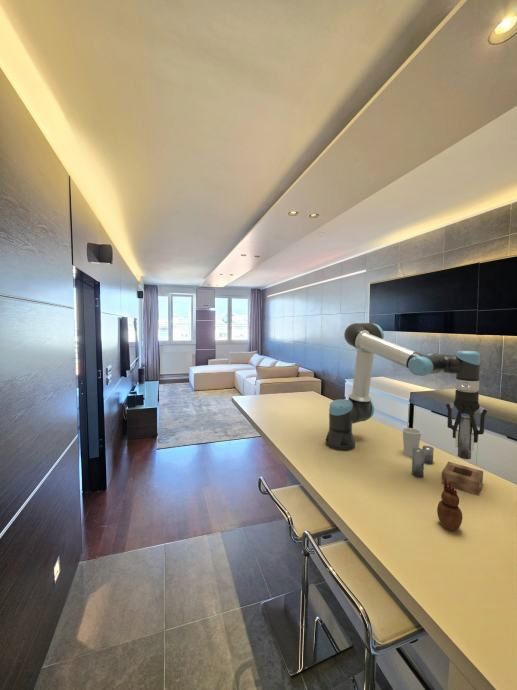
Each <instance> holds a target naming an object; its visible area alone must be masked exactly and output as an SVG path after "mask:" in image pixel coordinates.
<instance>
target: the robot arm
mask: <svg viewBox="0 0 517 690" xmlns="http://www.w3.org/2000/svg"><path fill="white" fill-rule="evenodd" d="M343 335H344V340H345V341H346V343H347V344H348V345H350V346H352V347H354V349H355V350H356V357H355V366H354V374H353V375H354V376H353V384H352V390H351V392H352V393H350V394H349V395H348V399H345V398H341V399H335V400H333V401H331V402H330V403H329V408H328V412H329V413H328V419H329V423H328V425H329V426H328V432H327V434H326V438H325V446H326V447H328V448H329V449H332V450H336V451H340V452H341V451H343V452H347V451H351V450H354V449H355V448H356V440H355V438H354V435H353V424H355V423H356V424H357V423H361V422H365V421H367V420H370V419H371V418H372V417H373V416H374V413H375V406H374V405H373V402H372V398H371V396H370V389H371V388H370V387H371V381H372V379H371V378H372V372H373V363H374V358H375V357H374V356H375V355H377V356H379V357H382V359H383V358H384V359H386V360H387V361H390V362H392V363H394V364H398V365H400V366H401V367H404V368H406V369H408V370H409V372H411V373H410V374H412V375H415V376H418V377H419V376H422V377H423V376H428V375H432V374H439V373H443V374H444V373H445V374H452V375H455V389H456V390H455V392H454V393H455V395H454V401H453V402H448V403H446V405H445V406H446V410H447V428H448V429H451V430H452V438H453V439H455V442H454V443H455V445H454V447H455V448H457V449H458V433H459V420H460V417H461V416H463V414H465V415H468V417H470V419H471V423H472V434H471V452H474V450H475V443H476V444H477V443H478V441H479V435H484V433H485V426H486V424H485V423H486V415H487V412H488V411H489V410H488V408H485V407H483V406H481V405H480V404H479V403H480V402H479V399H480V396H479V395H480V392H479V390H480V372H481V371H480V370H481V354H480V352H478V351H475V350H473V351H472V350H458V351H457V352H456V354H455V355H454V354H453V355H452V354H442V353H428V354H427V355H425V354H422V353H420V352H417V351H415V350H413V349H410V348H407V347H405V346H402V345H399V344H397V343H395V342H392V341H390V340H389V341H388V340H387V339H384V337H385V334H384V331H383V328H381V326H380V325H379V324H377V323H372V322H360V323H359V322H356V323H355V322H353V323H351V324H350V325H348V326H347V327H346V329H345V330H344V333H343ZM454 407H455V408H456V410H457V413H456V414H457V415H456V418H455V420H454V424H453V408H454ZM476 411H479V413H480V422H479V429H478V423H477V420H476V414H475V413H476Z"/></svg>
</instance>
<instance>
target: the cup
mask: <svg viewBox="0 0 517 690" xmlns="http://www.w3.org/2000/svg"><path fill="white" fill-rule="evenodd" d="M421 435H422V431H421V430H419V429H417V428H412V427H404V428H403V429H402V438H403V439H402V441H403V454H404V456H406V457H409V458H412V454H413V448H420V442H421Z"/></svg>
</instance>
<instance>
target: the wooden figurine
mask: <svg viewBox="0 0 517 690" xmlns="http://www.w3.org/2000/svg"><path fill="white" fill-rule="evenodd" d="M440 495H441V499H440V501H439V502H438V504H437V508H436V512H437V518H438V520H439V522H440V524H441V525H442V527H444V528H445V529H447V530H449V531H456V530H459V529H460V527H461V525H462V522H463V513H462V510H461V508H460V507H459V504H460V497H459V495H458V492H457V489H455V488H454V486H452V487H451V482H449V485H447V481H446V478H444V484H443V491H442V492H441V494H440Z"/></svg>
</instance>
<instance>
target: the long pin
mask: <svg viewBox="0 0 517 690" xmlns="http://www.w3.org/2000/svg"><path fill="white" fill-rule="evenodd" d="M458 430H459V433H458V448H457V457H458V458H460V459H464V460H471V459H472V451H471V434H472V433H473V428H472V423H471V419H470V416H469V415H468V416H466V415H462V416H461V417H460V420H459V425H458Z"/></svg>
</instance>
